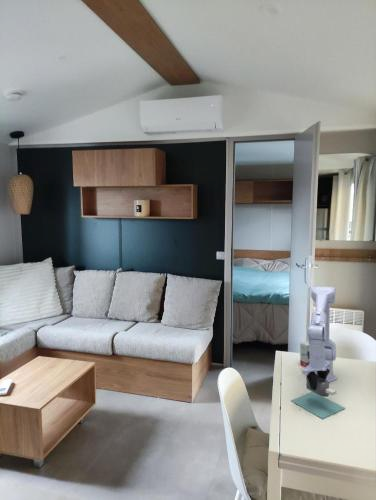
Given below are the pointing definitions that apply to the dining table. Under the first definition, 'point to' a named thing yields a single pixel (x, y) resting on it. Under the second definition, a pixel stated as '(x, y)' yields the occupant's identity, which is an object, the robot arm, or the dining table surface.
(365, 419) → the dining table surface
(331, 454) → the dining table surface
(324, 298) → the robot arm
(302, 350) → the ink box
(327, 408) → the charging mat
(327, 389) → the cylinder
